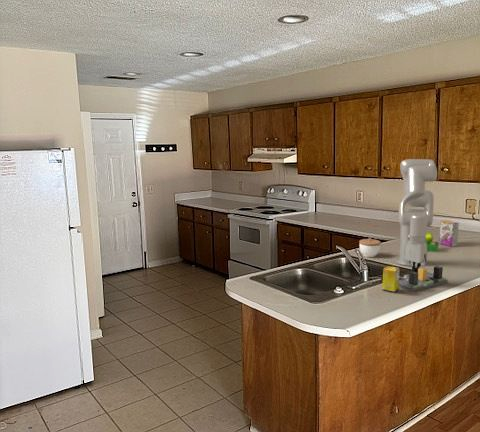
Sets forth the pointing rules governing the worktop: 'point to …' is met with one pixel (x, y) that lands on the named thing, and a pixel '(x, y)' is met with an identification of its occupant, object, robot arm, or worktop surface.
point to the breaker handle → (422, 274)
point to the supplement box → (390, 279)
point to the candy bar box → (448, 233)
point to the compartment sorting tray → (414, 284)
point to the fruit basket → (431, 243)
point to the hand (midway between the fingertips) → (415, 274)
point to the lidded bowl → (369, 247)
